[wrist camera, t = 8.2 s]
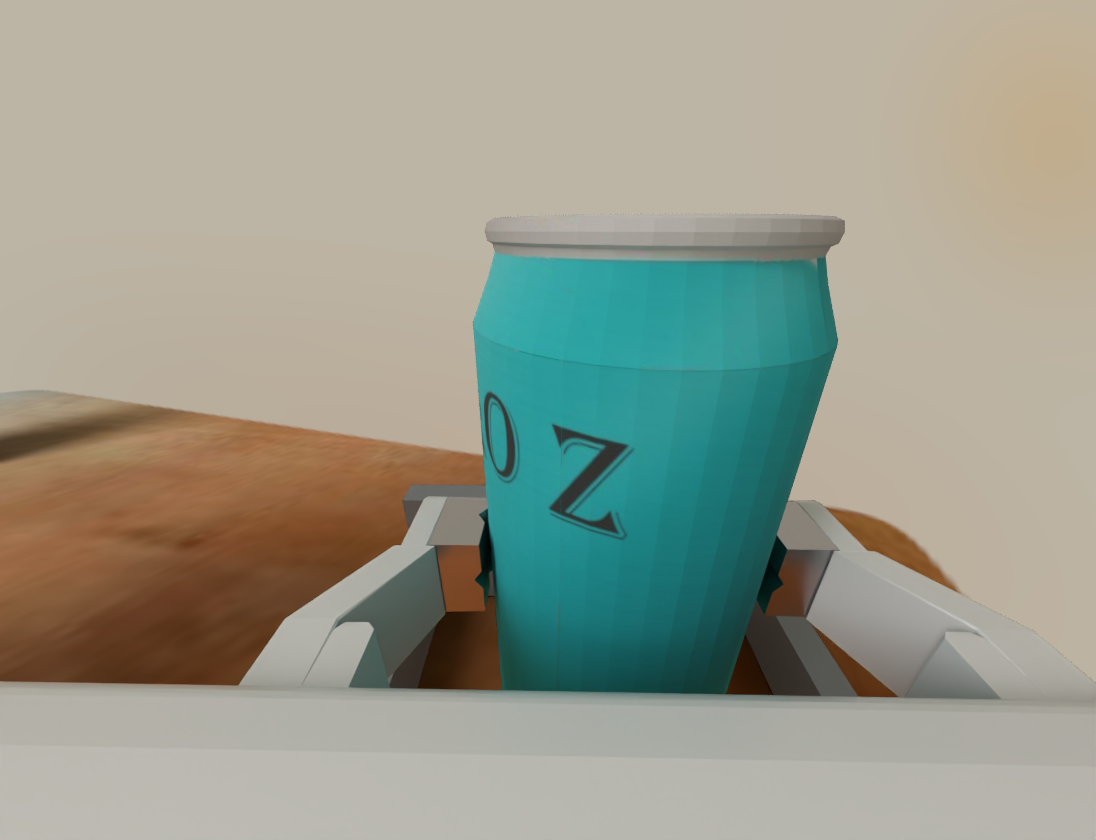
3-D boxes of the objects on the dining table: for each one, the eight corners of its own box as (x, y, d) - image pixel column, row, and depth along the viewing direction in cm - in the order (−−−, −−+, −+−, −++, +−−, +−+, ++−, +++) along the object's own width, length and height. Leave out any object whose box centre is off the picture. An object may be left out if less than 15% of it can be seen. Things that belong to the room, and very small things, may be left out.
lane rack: (191, 1233, 7) (-6, 1229, 5) (428, 576, 22) (411, 484, 19) (1108, 1268, 7) (1426, 1282, 5) (742, 579, 21) (768, 486, 19)
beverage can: (591, 630, 16) (621, 223, 10) (727, 753, 13) (919, 220, 6) (471, 738, 13) (396, 219, 6) (608, 954, 9) (762, 205, 3)
